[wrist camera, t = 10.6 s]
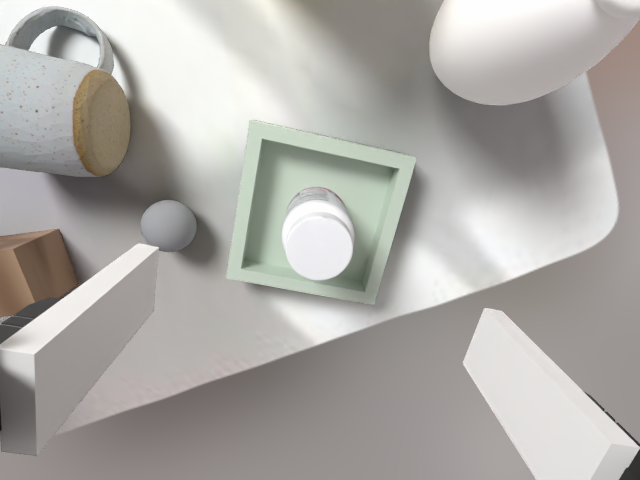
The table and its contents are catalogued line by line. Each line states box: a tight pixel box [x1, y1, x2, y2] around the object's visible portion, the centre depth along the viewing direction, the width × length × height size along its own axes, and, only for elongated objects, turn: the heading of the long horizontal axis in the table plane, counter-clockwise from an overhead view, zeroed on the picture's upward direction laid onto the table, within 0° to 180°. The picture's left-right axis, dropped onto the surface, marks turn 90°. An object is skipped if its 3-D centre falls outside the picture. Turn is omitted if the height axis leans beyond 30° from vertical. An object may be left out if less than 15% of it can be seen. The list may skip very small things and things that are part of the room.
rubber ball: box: [141, 200, 197, 252], centre depth 28 cm, size 4×4×4 cm
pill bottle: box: [282, 187, 355, 280], centre depth 25 cm, size 5×5×8 cm
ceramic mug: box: [0, 6, 130, 177], centre depth 23 cm, size 11×8×8 cm
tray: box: [226, 120, 417, 305], centre depth 29 cm, size 12×12×3 cm
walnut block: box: [0, 229, 79, 317], centre depth 29 cm, size 5×5×5 cm
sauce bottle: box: [429, 0, 640, 105], centre depth 18 cm, size 8×8×18 cm
